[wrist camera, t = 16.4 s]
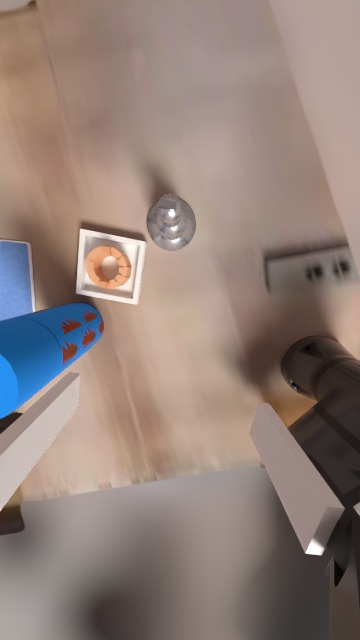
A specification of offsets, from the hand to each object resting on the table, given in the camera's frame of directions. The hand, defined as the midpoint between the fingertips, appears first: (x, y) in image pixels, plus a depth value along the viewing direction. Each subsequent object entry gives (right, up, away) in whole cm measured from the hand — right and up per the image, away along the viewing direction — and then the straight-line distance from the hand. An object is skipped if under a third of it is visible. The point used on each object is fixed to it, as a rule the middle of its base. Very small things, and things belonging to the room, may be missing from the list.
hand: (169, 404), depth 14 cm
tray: (-14, +17, +28) cm, 36 cm away
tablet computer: (-38, +14, +29) cm, 50 cm away
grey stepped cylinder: (-1, +26, +27) cm, 37 cm away
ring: (-14, +17, +28) cm, 35 cm away
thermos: (-22, +5, +31) cm, 39 cm away
